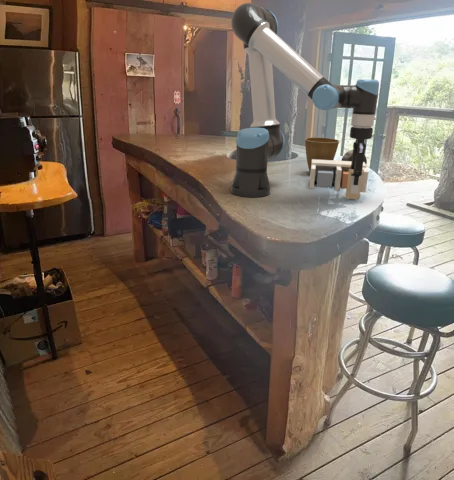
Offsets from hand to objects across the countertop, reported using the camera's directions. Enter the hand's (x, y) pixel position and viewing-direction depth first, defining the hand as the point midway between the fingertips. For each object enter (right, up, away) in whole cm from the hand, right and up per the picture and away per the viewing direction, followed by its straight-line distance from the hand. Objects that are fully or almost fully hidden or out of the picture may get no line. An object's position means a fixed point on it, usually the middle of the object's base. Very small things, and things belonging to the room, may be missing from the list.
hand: (353, 190), depth 149 cm
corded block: (+2, +1, +9) cm, 9 cm away
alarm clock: (+10, +10, +32) cm, 35 cm away
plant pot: (-5, +12, +36) cm, 38 cm away
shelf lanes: (-2, +4, +16) cm, 17 cm away
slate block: (-7, +4, +17) cm, 19 cm away
